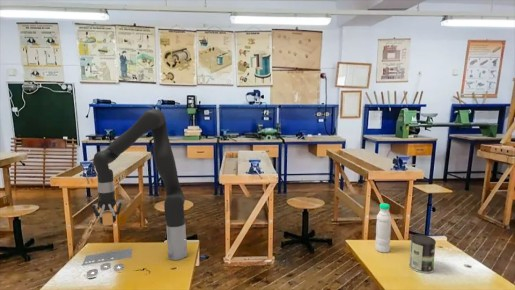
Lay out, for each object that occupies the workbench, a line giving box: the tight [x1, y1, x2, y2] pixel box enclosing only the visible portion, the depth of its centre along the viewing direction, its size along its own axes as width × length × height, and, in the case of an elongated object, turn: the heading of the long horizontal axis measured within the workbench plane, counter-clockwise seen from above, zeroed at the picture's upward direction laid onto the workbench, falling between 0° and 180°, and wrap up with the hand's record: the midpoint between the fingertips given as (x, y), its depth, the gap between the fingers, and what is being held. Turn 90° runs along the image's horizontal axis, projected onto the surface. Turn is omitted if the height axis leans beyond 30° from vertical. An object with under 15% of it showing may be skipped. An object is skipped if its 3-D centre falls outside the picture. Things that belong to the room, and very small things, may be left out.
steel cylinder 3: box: [113, 263, 125, 272], centre depth 145 cm, size 4×4×2 cm
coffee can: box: [408, 234, 437, 274], centre depth 144 cm, size 10×10×14 cm
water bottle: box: [374, 202, 392, 254], centre depth 161 cm, size 7×7×25 cm
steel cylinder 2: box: [100, 262, 112, 271], centre depth 146 cm, size 4×4×2 cm
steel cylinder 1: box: [86, 268, 99, 280], centre depth 141 cm, size 4×4×2 cm
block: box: [102, 210, 114, 226], centre depth 156 cm, size 4×4×6 cm
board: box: [81, 248, 133, 266], centre depth 156 cm, size 22×10×1 cm, turn 109°
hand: (108, 222), depth 156 cm, fingers closed on block, 4 cm apart
